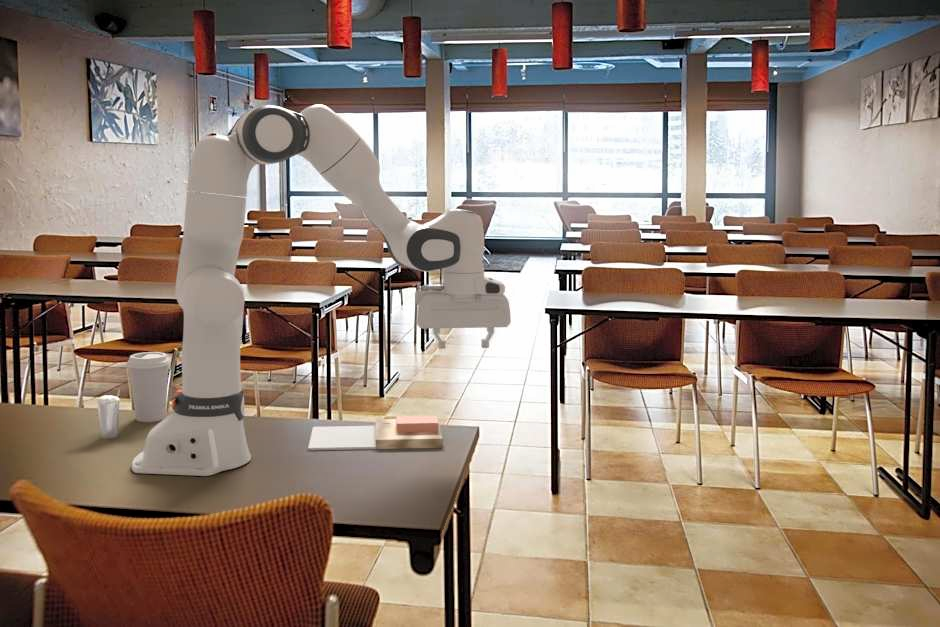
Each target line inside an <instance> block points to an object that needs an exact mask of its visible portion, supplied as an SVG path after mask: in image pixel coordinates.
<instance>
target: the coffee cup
mask: <svg viewBox="0 0 940 627" xmlns="http://www.w3.org/2000/svg"><path fill="white" fill-rule="evenodd" d="M170 365H171V359H170V358H169V357H168V355H167V353H165V352H161V351H148V352H138V353H133V354H131V355H129V358H128V360H127V363H126V367H127V368H128V372H129V377H130V385H131V391H132V399H133V407H134V415H135V420H136V421H137V422H140V423H155V422H161V421H162V420H164V419H165V418H166V417H167V416H166V414H167V393H168V379H169V378H168V377H169V366H170Z"/></svg>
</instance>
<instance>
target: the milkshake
mask: <svg viewBox="0 0 940 627" xmlns="http://www.w3.org/2000/svg"><path fill="white" fill-rule="evenodd" d="M120 392H121V388H119V389H118V391H117V395H116V396H115V395H111V394H110V395H108V394H107V395H106V394H105V395H103V396H100V397H98V398H97V399H96V406H97V412H98V420H99V427H100V434H101V438H102V439H107V440H109V439H114V438H118V436H119V420H120V419H119V416H120V415H119V414H120V398H119V396H120Z"/></svg>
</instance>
